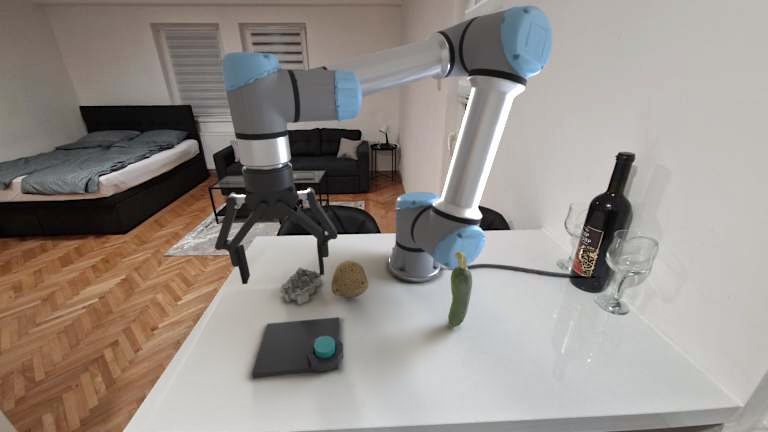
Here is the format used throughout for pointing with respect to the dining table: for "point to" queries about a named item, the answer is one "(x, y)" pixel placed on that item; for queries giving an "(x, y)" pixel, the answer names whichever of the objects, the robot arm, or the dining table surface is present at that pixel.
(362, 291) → the natural sponge
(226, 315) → the dining table surface
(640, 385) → the dining table surface
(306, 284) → the grey rock
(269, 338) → the scale
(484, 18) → the robot arm
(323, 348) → the tare button
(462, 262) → the vegetable
